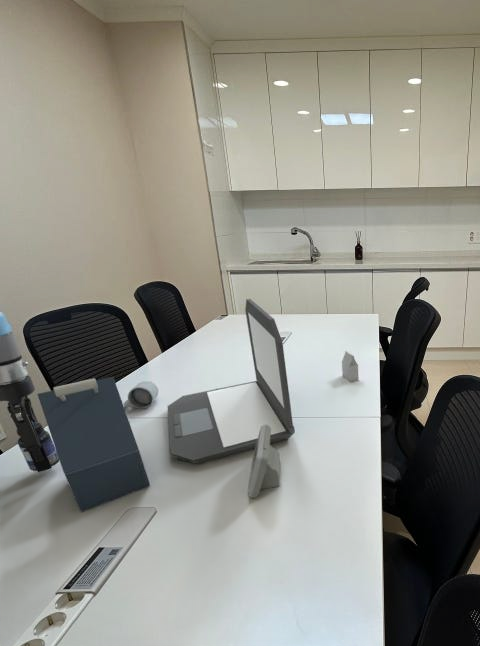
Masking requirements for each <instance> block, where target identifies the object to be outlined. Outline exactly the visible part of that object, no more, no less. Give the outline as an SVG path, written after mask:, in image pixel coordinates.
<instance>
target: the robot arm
mask: <svg viewBox="0 0 480 646" xmlns="http://www.w3.org/2000/svg"><path fill="white" fill-rule="evenodd" d="M29 365H30V364H29V361H24V358H23V356H22V354H21V351H20V348H19V345H18V342H17V341H16V338H15V335H14V332H13V329H12V326H11V325H10V324H9V322H8V320H7V318H6V316H5V314H4V313H3V312H2V311H0V402H7V405H8V406H7V407H6V408H7V409H6V410H7V412H8V414H10V418H11V420H12V421H13V423H14V425H15V427H16V430H18V432H19V434H20V436H19V438H20V437H21V439H22V441H23V444H24V446H25V448H26V449H24V450H23V451H24V452H29V454H30V456H31V458H32V460H33V463H34V465H35V467H36V469H37V471H36V472H37V473H41V472H45V471H48V470H51V469H53V466H51V464H50V462H49V459H48V457H47V455H46V452H45V450H44V448H43V445H41V444H40V441H39V438H38V436H37V433H36V430H35V427H34V425H33V422H39V420H38V418H37V416H36V413H35V411H34V408H33V406H32V400H31V399H30V397H28V396H29V395H32V394H33V393H34V391H35V390H36V387H35V385H34V382H33V380H32V377H31V376H30V375H29V371H28V369H27V366H29ZM42 430H44V431H46V430H45V428H44V427H43V429H42Z"/></svg>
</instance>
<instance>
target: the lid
mask: <svg viewBox="0 0 480 646" xmlns="http://www.w3.org/2000/svg"><path fill="white" fill-rule="evenodd" d="M37 397H38V401H39V403H40V406H41V409H42V413H43V415H44V418H45V421H46V424H47V427H48V430H49V434H50V437H51V439H52V442H53V444H54V446H55V449H56V451H57V454H58V457H59V462H60V466H61V469H62V471H63V474H64V475H65V474H66V473H69V472H72V471H75V470H78V469H81V468H84V467H87V466H90V465H93V464H96V463H99V462H102V461H105V460H108V459H112V458H115V457H118V456H121V455H124V454H127V453H130V452H133V451H136V450H139V451H140V449H139V445H138V443H137V440H136V438H135V435H134V432H133V429H132V426H131V424H130V420H129V418H128V415H127V412H126V409H125V405H124V402H122V401H123V400H122V398H121V394H120V392H119V389H118V386H117V384H116V380H115V377H114V376H109V377H106V378H101V379H97V380H96V378H95V377H93V378H89V379H84V380H81V381H77V382H73V383H68V384H63V385H59V386H54V387H53V389H52V390H48V391H44V392H39V393H37Z"/></svg>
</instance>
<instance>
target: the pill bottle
mask: <svg viewBox="0 0 480 646" xmlns="http://www.w3.org/2000/svg"><path fill="white" fill-rule="evenodd" d="M33 425H34V427H35V430H36V433H37V436H38V438H39V441H40V444H41V445H43V448H44V450H45V452H46V455H47V457H48V459H49V462H50V464H51V466H52V467H54V466H56V465H57V464H58V463H59V462H60V460H59V457H58V454H57V451H56V448H55V445H54V442H53V439H52V436H51V434H50V432H49V431H47V430H45V429H44V430H45V431H44V430H42V429H43V428H44V426H43V425H42V423H41V422H39V421H38V422H33ZM16 434H17V436H19V438H18V439H17V445H18V448H19V449H20V451H21V453H22V455H23V458H24V460H25V463H26V464H27V466H28V469H29V470H31V471H33V472H37V469H36V467H35V465H34V463H33V460H32V458H31V456H30V454H29V452H24V451H23V450H24V449H26V448H25V446H24V444H23V441H22V439H21V437H20V434H19V432H18V430H17V429H16Z"/></svg>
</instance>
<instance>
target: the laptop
mask: <svg viewBox="0 0 480 646" xmlns="http://www.w3.org/2000/svg"><path fill="white" fill-rule="evenodd" d="M244 308H245V309H244V311H245V316H246V317H245V318H246V324H247V329H248V336H249V343H250V348H251V355H252V360H253V366H254V374H255V380H253V381H249V382H244V383H239V384H235V385H230V386H225V387H220V388H215V389H209V390H205V391H200V392H199V391H198V392H194V393H190V394H186V395H182V396H180V397H179V398H178V399H176V400H174V401H173V402H171V403H170V404H169V405H167V419H168V430H169V431H168V433H169V444H170V445H169V446H170V447H169V448H170V454H171V455H173V456H174V457H176V458H177V459H179V460H181V461H185V462H190V463H194V464H201V463H205V462H209V461H213V460H216V459H220V458H223V457H226V456H227V457H228V456H230V455H234V454H237V453H241V452H244V451H249V450H253V449H255V447H256V444H257V440H258V436H259V432H260V428H261V426H263V425H268V426H269V427H270V428H271V434H270V445H272V444H274V443H278V442H281V441H282V442H283V441H286V440H289V439H290V438H291V437H292V436H293V435H294V434H295V433H296V431H295V430H296V429H295V425H294V422H293V415H292V413H293V412H292V406H291V399H290V391H289V383H288V376H287V368H286V366H287V365H286V360H285V359H286V358H285V351H284V344H283V340H282V337H281V334H280V332H279V329H278V326H277V323H276V320H275V318H274V317H272V315H270V313H268V312H266V311H265V310H264V309H263V308H262V307H261V306H259V305H258V304H257V303H256V302H254V301H253V300H252V299H251V298H246V301H245V307H244Z"/></svg>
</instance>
